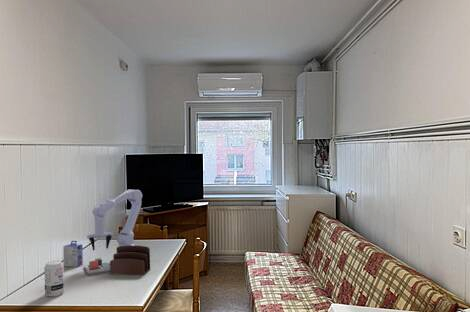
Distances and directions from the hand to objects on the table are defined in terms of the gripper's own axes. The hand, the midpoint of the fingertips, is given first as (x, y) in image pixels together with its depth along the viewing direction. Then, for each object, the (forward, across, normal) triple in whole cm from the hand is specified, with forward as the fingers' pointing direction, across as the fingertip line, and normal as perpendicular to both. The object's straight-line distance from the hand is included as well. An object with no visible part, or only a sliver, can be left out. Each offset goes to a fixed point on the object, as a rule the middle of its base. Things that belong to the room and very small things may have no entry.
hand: (100, 249), depth 232 cm
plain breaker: (+8, +2, +1) cm, 9 cm away
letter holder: (+10, -12, +21) cm, 27 cm away
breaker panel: (+10, +3, +8) cm, 13 cm away
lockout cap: (+9, +6, +12) cm, 16 cm away
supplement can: (+10, +28, +37) cm, 47 cm away
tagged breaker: (+8, +6, +6) cm, 11 cm away
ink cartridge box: (+10, +14, -10) cm, 20 cm away
